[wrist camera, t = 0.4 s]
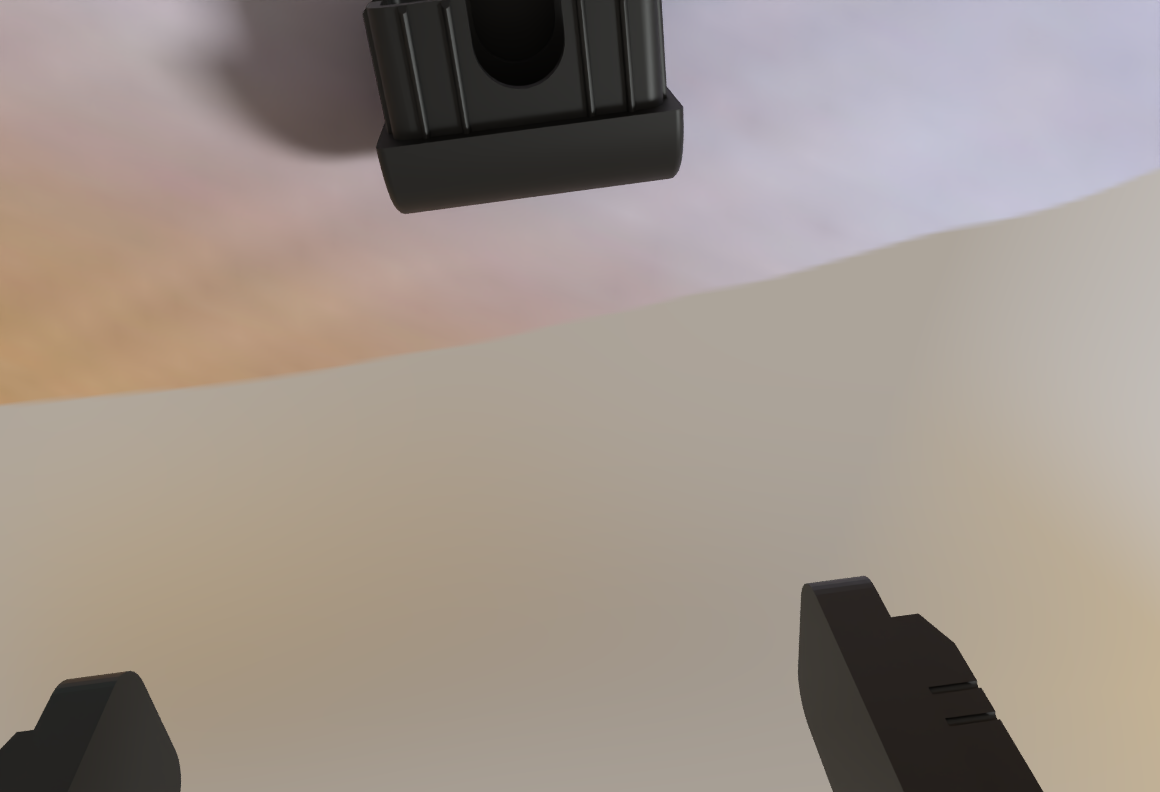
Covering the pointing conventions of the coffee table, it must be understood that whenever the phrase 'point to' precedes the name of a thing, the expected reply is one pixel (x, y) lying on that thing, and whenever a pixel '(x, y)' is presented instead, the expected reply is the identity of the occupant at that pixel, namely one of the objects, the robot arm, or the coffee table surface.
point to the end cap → (520, 98)
